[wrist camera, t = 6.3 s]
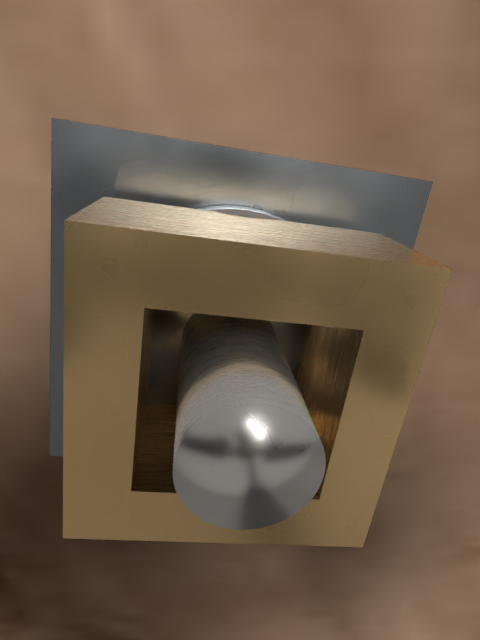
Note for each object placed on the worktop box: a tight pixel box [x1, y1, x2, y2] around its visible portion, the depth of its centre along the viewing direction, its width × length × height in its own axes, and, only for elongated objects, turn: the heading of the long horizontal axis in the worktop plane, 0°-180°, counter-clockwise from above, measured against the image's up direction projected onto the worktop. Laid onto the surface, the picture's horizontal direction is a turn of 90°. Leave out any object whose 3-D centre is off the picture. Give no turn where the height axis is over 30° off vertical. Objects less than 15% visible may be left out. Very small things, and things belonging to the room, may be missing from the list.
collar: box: [63, 197, 452, 547], centre depth 11 cm, size 7×7×4 cm
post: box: [50, 118, 433, 530], centre depth 11 cm, size 10×10×7 cm
